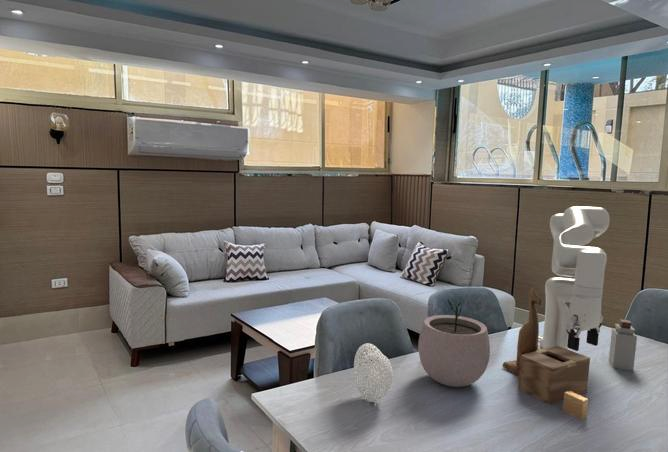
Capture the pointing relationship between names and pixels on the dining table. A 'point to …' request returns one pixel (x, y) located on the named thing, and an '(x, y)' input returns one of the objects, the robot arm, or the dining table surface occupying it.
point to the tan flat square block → (575, 405)
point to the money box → (553, 373)
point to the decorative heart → (372, 373)
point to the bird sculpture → (526, 334)
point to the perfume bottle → (623, 346)
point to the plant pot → (454, 349)
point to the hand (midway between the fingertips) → (582, 346)
